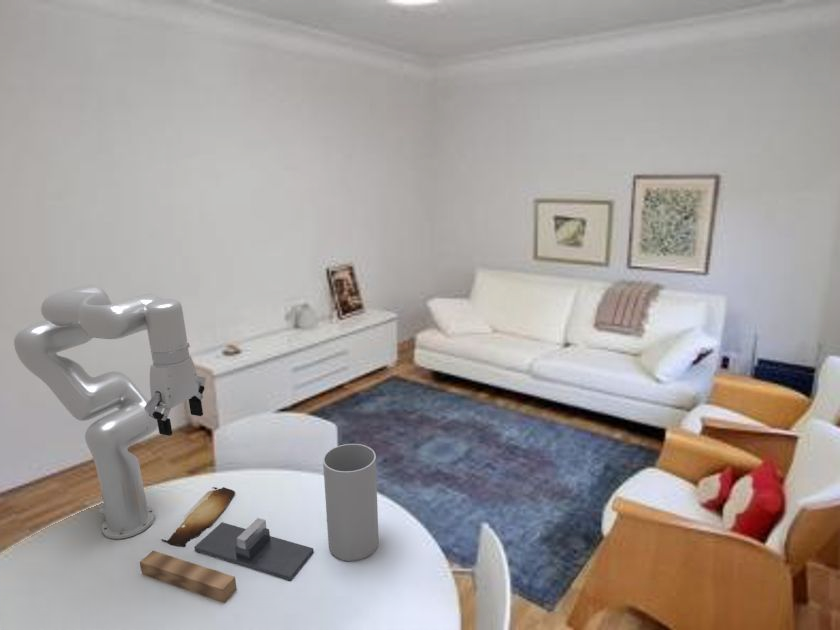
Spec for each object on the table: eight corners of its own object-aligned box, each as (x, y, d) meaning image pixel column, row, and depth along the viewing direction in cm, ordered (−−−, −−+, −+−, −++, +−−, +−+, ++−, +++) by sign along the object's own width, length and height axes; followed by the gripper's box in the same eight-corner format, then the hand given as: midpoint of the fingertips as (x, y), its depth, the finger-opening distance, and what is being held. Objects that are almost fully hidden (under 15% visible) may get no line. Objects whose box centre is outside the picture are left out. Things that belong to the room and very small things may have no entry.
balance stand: (194, 550, 135) (191, 528, 133) (222, 525, 144) (219, 504, 142) (290, 581, 125) (288, 557, 123) (313, 552, 134) (311, 529, 132)
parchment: (213, 486, 161) (212, 484, 160) (243, 490, 159) (242, 487, 158) (158, 545, 138) (157, 542, 137) (192, 549, 136) (191, 546, 135)
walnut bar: (142, 575, 127) (139, 561, 126) (155, 564, 131) (153, 550, 130) (225, 604, 119) (222, 589, 118) (236, 590, 123) (235, 576, 122)
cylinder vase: (347, 570, 128) (342, 478, 121) (319, 543, 137) (313, 456, 130) (388, 545, 136) (386, 458, 129) (359, 521, 145) (356, 438, 138)
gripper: (185, 341, 129) (195, 406, 134) (125, 367, 114) (139, 439, 119) (211, 344, 127) (220, 410, 132) (153, 371, 111) (166, 445, 116)
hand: (182, 424), depth 125 cm, fingers open, 9 cm apart
